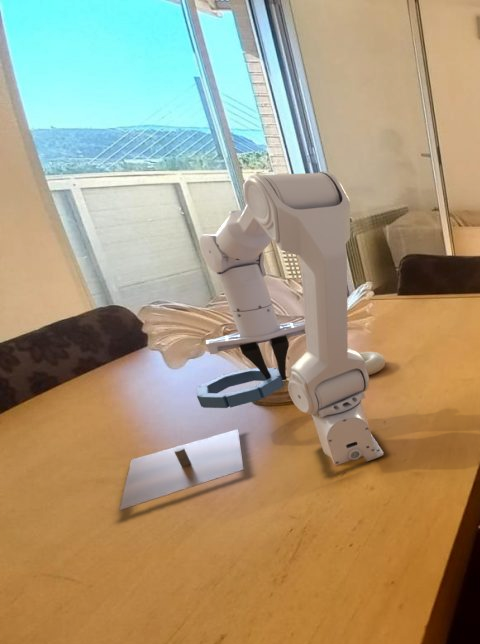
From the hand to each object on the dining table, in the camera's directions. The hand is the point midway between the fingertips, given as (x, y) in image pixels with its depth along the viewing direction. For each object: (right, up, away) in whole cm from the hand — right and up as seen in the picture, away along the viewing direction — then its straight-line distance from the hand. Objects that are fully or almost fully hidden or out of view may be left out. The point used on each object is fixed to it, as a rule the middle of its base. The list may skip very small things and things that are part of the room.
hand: (277, 380), depth 84 cm
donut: (+1, +1, +26) cm, 26 cm away
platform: (-7, -14, -9) cm, 18 cm away
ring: (-4, -2, -3) cm, 5 cm away
